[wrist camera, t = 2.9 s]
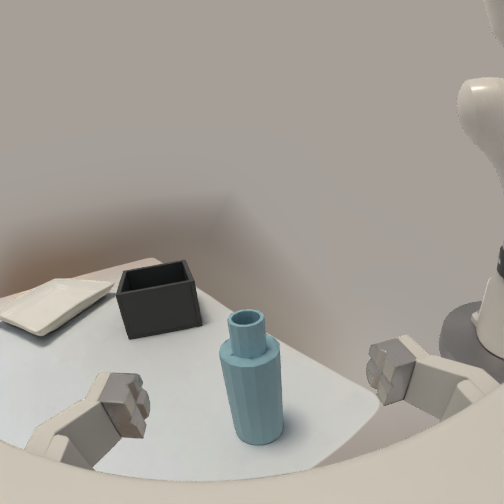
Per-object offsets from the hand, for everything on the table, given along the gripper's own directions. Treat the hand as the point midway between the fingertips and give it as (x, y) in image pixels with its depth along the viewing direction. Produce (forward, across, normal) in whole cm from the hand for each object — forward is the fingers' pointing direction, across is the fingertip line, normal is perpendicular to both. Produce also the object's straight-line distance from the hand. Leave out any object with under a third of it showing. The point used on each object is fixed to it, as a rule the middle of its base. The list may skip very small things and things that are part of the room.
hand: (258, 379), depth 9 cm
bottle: (+12, 0, +18) cm, 22 cm away
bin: (+41, +15, +18) cm, 48 cm away
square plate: (+47, +48, +18) cm, 69 cm away
